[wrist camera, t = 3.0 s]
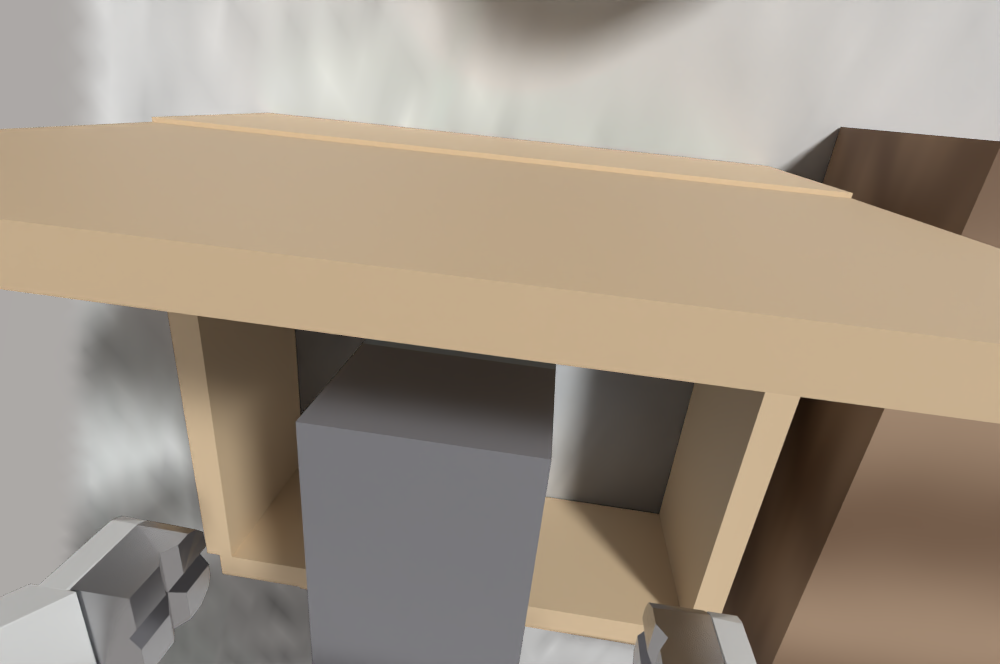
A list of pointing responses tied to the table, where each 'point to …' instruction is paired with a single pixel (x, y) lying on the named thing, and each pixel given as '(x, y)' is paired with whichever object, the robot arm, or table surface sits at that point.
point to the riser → (884, 473)
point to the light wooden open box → (502, 310)
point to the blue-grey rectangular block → (424, 504)
